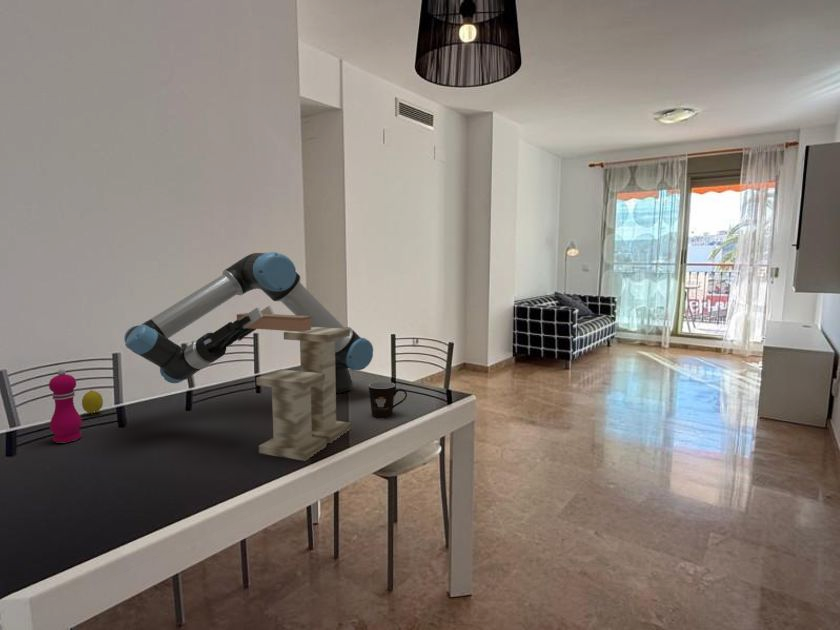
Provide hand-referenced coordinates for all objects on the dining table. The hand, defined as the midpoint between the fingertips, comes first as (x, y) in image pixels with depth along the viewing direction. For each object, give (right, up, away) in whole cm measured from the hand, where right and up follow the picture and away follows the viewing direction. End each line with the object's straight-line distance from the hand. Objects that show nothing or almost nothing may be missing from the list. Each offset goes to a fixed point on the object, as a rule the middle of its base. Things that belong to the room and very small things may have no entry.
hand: (265, 311), depth 125 cm
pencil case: (+2, -4, 0) cm, 5 cm away
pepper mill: (-57, -36, +8) cm, 68 cm away
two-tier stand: (+9, -36, +8) cm, 38 cm away
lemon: (-65, -33, +30) cm, 79 cm away
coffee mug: (+29, -34, +29) cm, 53 cm away
